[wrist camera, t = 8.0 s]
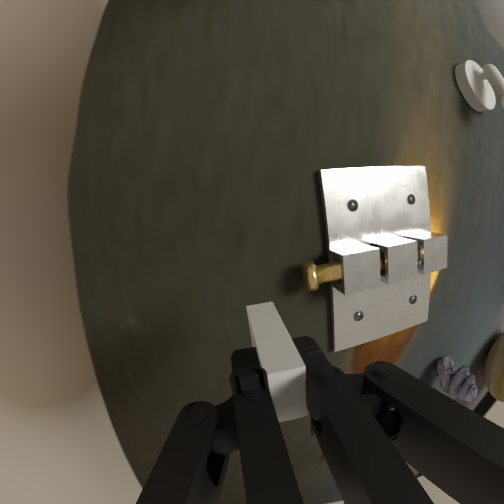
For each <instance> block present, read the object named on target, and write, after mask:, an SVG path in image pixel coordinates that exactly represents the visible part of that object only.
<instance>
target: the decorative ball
mask: <svg viewBox="0 0 504 504" xmlns="http://www.w3.org/2000/svg"><path fill="white" fill-rule="evenodd" d="M485 382H486V385H487V388H488V390H489V392H490V393H491V394H492V396H493V397H494V398H496V399H497V400H499V401H501V402H504V333H503V334H502V335H501V336H500V337H499V338H498V339H497V340H496V341H495V342H494V344H493V346H492V347H491V349H490V351H489V353H488V356H487V359H486V363H485Z"/></svg>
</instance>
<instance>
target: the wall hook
mask: <svg viewBox="0 0 504 504" xmlns="http://www.w3.org/2000/svg"><path fill="white" fill-rule="evenodd" d="M455 77H456V81H457V84H458V86H459V89H460V91H461V93H462V95H463V96H464V98H465V100H466V101H467V102H468V104H469V105H470V106H471V107H472V108H473V109H474V110H476V111H478V112H483V111H487V110H491V109H493V108H494V107H495V94H496V96H497V98H498V100H499V101H500V103H501V105H502V107H503V108H504V78H503V77H502V75H501V74H500V72H499V71H498V70H497V68H496V67H495V66H493V65H492V64H486V65H484V67H483V69H482V68H481V67H480V66H479V65H478V64H477V63H475V62H474V61H471V60H467V61H465V62H463V63H461V64H458V65H457V66H456V68H455ZM494 92H495V94H494Z"/></svg>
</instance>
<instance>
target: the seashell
mask: <svg viewBox="0 0 504 504" xmlns="http://www.w3.org/2000/svg"><path fill="white" fill-rule="evenodd" d="M452 366H453V361H452V360H451V358H450V356H447V357H444V358H442V359H441V360H439V361H438V363H437V371H438V375H439V379H440V385H441V388H442V390H443V391H444V392H445V393H447V394H448V393H449V396H450V398H451V399H453V400H461V401H465V402H471V401H472V399H474V398H476V397H477V393H478V390H477V385H476V383H475V376H474V375H473V374H470V369H469V367H468V366H464V365H463V366H461V367H460V368H459V369H458V370H457V371H455V372H454V373H453V374H452V371H453V370H454V368H451V367H452Z"/></svg>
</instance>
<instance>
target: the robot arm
mask: <svg viewBox="0 0 504 504" xmlns="http://www.w3.org/2000/svg"><path fill="white" fill-rule="evenodd" d="M246 308H247V315H248V321H249V327H250V333H251V339H252V346H253V347H251V348H245V349H239V350H235V351H234V352H233V354H232V356H231V363H232V373H231V374H230V378H229V380H230V384H231V388H232V392H233V395H232V396H231V398H230V399H228V400H227V401H226V402H224V403H221V404H219V405H216V406H214V405H212V404H211V403H209V402H205V401H196V402H193V403H189V404H188V405H186V406H185V407H183V409H182V410H181V411H180V413H179V415H178V417H177V419H176V421H175V423H174V426H173V428H172V430H171V432H170V434H169V436H168V438H167V440H166V442H165V444H164V446H163V448H162V451H161V453H160V455H159V457H158V459H157V461H156V463H155V465H154V467H153V469H152V471H151V473H150V475H149V477H148V480H147V482H146V484H145V486H144V488H143V490H142V492H141V494H140V496H139V498H138V500H137V502H136V504H218V501H219V498H220V494H221V490H222V486H223V482H224V478H225V474H226V470H227V466H228V462H229V457H230V453H231V452H234V451H236V450H239V449H240V456H241V464H242V472H243V479H244V486H245V493H246V500H247V504H304V503H303V500H302V497H301V493H300V490H299V487H298V484H297V481H296V477H295V474H294V471H293V468H292V464H291V461H290V458H289V455H288V451H287V448H286V445H285V441H284V438H283V435H282V431H281V428H280V425H279V422H283V421H287V420H292V419H296V418H300V417H304V416H308V413H307V408H308V411H309V413H310V415H311V435H314V433H315V435H316V437H317V440H318V442H319V445H320V447H321V449H322V452H323V454H324V456H325V459H326V461H327V464H328V466H329V468H330V471H331V473H332V475H333V478H334V480H335V482H336V485H337V487H338V489H339V492H340V494H341V496H342V499H343V501H344V503H345V504H434V503H433V502H432V500H431V499H430V497H429V496H428V494H427V493H426V491H425V490H424V488H423V487H422V485H421V484H420V483H419V481H418V480H417V478H416V477H415V475H414V474H413V472H412V471H411V469H410V468H409V466H408V465H407V463H408V464H409V465H411V466H412V467H413V468H414V469H416V470H417V471H418V472H419V473H421V474H422V475H423V476H424V477H426V478H427V479H428V480H429V481H431V482H432V483H433V484H435V485H436V486H437V487H438V488H440V489H441V490H442V491H444V492H445V493H447V494H448V495H449V496H450V497H452V498H453V499H455V500H456V501H457V502H459V503H460V504H504V428H502V427H500V426H498V425H496V424H495V423H493V422H491V421H489V420H488V419H486V418H484V417H482V416H481V415H479V414H477V413H475V412H474V411H472V410H470V409H468V408H467V407H465V406H463V405H461V404H460V403H458V402H456V401H454V400H453V399H451V398H449V397H448V396H446V395H444V394H442V393H441V392H439V391H437V390H436V389H434V388H432V387H430V386H429V385H427V384H425V383H424V382H422V381H420V380H419V379H417V378H415V377H414V376H412V375H410V374H409V373H407V372H405V371H404V370H402V369H400V368H399V367H397V366H395V365H394V364H392V363H389V362H385V361H377V362H373V363H371V364H369V365H368V366H366V368H365V370H364V373H361V374H344V372H343V371H342V370H341V369H339V368H337V367H334V366H332V365H331V364H330V362H329V361H328V359H327V358H326V356H325V355H324V353H323V352H322V351H321V349H320V347H318V344H317V343H316V341H315V340H314V339H312V338H310V337H308V336H303V337H299V338H294V339H291V337H290V335H289V333H288V331H287V329H286V327H285V325H284V323H283V321H282V320H281V318H280V316H279V314H278V312H277V310H276V308H275V306H274V304H273V302H267V303H262V304H256V305H250V306H246ZM405 461H406V462H407V463H406V462H405Z"/></svg>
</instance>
